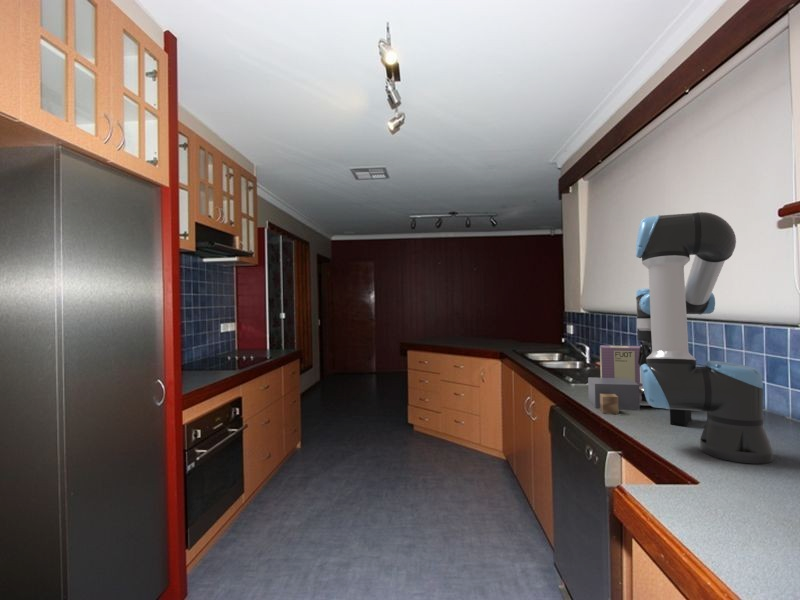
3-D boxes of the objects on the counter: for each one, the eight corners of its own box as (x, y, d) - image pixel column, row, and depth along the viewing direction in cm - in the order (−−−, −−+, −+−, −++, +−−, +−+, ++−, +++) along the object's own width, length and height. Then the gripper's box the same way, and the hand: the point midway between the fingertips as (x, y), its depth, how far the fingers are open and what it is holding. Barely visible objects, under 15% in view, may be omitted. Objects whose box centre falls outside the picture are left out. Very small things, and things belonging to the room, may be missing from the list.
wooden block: (603, 413, 156) (602, 396, 156) (600, 410, 161) (599, 393, 161) (618, 414, 155) (618, 397, 155) (615, 410, 160) (614, 394, 160)
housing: (595, 408, 164) (594, 383, 164) (588, 399, 178) (588, 377, 178) (639, 409, 161) (639, 384, 161) (629, 401, 174) (628, 378, 174)
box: (643, 392, 189) (642, 346, 189) (647, 397, 180) (646, 348, 180) (600, 390, 195) (599, 345, 195) (602, 394, 186) (601, 347, 186)
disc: (666, 393, 164) (666, 388, 164) (653, 395, 161) (652, 391, 161) (646, 389, 171) (646, 385, 171) (632, 391, 168) (632, 387, 168)
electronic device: (691, 420, 146) (691, 390, 146) (685, 427, 138) (684, 395, 138) (677, 418, 148) (676, 388, 148) (669, 424, 141) (669, 393, 141)
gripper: (671, 331, 153) (673, 392, 153) (649, 328, 178) (650, 381, 177) (647, 331, 155) (649, 392, 155) (628, 328, 179) (629, 380, 179)
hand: (649, 386), depth 166 cm, fingers open, 13 cm apart
